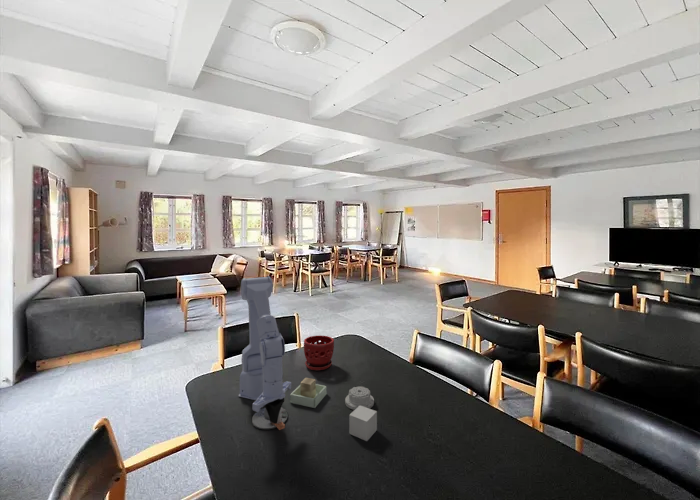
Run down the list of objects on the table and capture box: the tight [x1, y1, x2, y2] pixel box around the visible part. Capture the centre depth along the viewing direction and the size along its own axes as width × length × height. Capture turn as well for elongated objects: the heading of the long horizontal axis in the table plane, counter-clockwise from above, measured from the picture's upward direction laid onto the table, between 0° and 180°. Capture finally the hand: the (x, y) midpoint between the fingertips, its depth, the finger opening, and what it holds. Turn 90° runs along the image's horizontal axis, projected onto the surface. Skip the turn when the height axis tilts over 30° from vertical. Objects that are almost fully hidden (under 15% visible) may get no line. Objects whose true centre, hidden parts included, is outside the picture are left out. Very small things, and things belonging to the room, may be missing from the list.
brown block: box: [299, 377, 317, 398], centre depth 113 cm, size 4×4×6 cm
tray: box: [289, 383, 328, 409], centre depth 114 cm, size 10×10×3 cm
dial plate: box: [251, 407, 289, 431], centre depth 102 cm, size 11×11×1 cm
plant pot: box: [303, 335, 335, 371], centre depth 140 cm, size 13×13×12 cm
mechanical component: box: [344, 385, 375, 411], centre depth 111 cm, size 10×4×10 cm
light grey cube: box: [348, 405, 378, 442], centre depth 95 cm, size 6×6×6 cm
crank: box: [264, 409, 286, 431], centre depth 99 cm, size 11×4×6 cm, turn 37°
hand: (273, 422), depth 95 cm, fingers closed
